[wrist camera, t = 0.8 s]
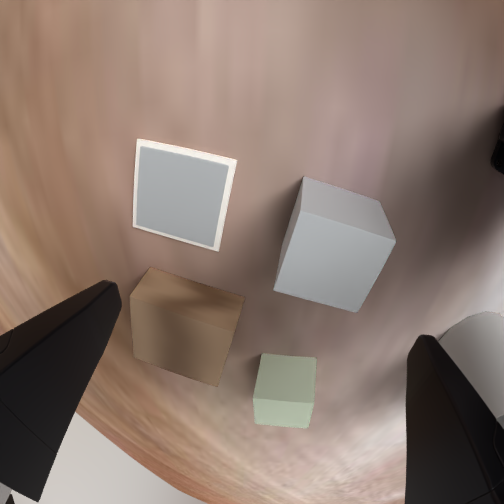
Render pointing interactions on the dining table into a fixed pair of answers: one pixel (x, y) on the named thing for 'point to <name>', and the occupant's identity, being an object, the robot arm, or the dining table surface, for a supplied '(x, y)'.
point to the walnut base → (183, 325)
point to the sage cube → (285, 390)
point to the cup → (480, 356)
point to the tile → (181, 192)
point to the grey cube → (333, 246)
